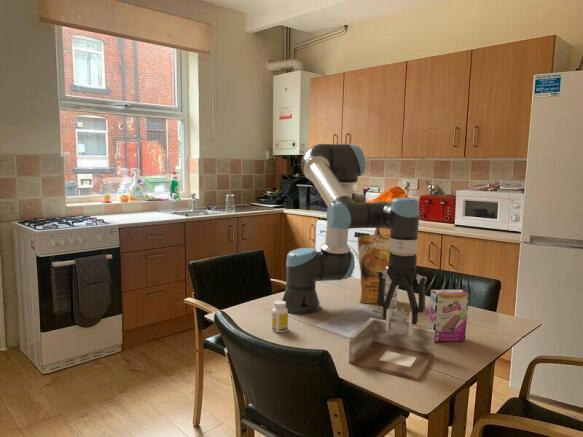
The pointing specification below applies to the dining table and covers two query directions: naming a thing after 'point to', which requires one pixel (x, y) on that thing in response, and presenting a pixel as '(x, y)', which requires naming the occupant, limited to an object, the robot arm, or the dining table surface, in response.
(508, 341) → the dining table surface
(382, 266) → the pancake mix bag
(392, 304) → the plastic bottle
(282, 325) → the supplement bottle
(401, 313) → the white lumpy figure
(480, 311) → the dining table surface
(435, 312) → the candy bar box
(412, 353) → the arena
